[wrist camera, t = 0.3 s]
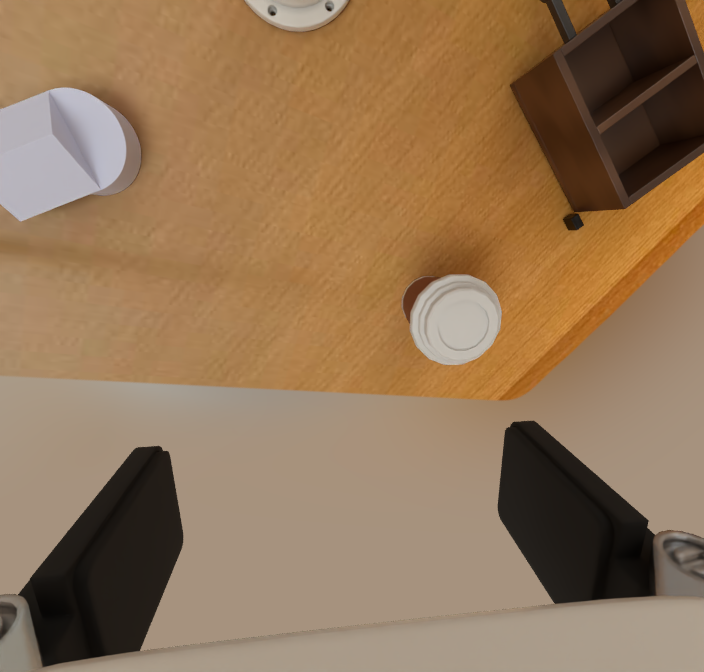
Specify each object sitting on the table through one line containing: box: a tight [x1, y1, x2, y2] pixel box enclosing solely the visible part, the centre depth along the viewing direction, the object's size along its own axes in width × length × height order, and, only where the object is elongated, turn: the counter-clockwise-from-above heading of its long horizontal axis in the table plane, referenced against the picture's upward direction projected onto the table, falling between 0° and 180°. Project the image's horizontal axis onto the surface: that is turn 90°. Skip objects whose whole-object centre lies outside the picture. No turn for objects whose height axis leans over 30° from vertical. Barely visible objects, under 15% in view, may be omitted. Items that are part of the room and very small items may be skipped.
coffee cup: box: [402, 274, 502, 365], centre depth 42 cm, size 9×9×12 cm
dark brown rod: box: [563, 214, 584, 230], centre depth 45 cm, size 2×15×2 cm, turn 126°
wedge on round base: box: [0, 88, 141, 221], centre depth 36 cm, size 9×7×13 cm
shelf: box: [510, 0, 704, 212], centre depth 39 cm, size 21×12×8 cm, turn 36°
